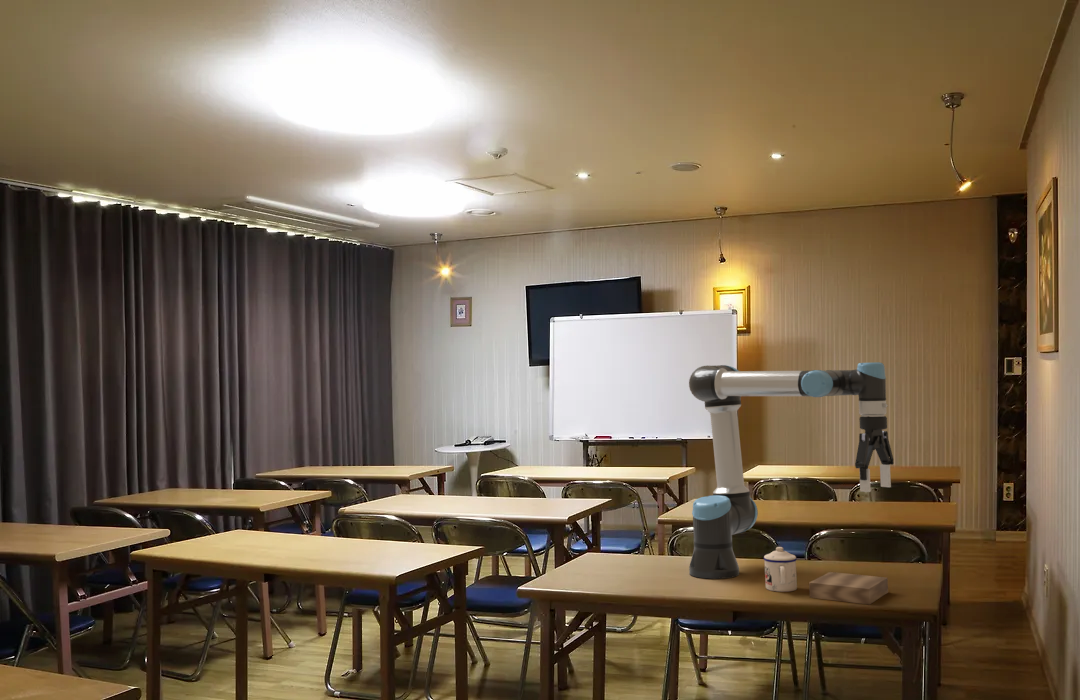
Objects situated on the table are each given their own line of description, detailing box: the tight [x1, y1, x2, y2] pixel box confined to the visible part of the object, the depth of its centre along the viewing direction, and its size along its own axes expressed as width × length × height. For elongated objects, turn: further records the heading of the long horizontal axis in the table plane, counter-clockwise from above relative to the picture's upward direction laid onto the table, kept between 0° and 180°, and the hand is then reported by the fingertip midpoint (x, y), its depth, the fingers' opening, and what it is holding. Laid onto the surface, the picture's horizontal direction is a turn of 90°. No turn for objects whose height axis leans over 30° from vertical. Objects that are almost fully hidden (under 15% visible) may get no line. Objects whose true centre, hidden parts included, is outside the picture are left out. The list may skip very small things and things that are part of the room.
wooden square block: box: [808, 571, 889, 605], centre depth 245 cm, size 16×16×4 cm
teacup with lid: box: [763, 546, 798, 593], centre depth 254 cm, size 12×9×12 cm
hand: (875, 489), depth 259 cm, fingers open, 13 cm apart
